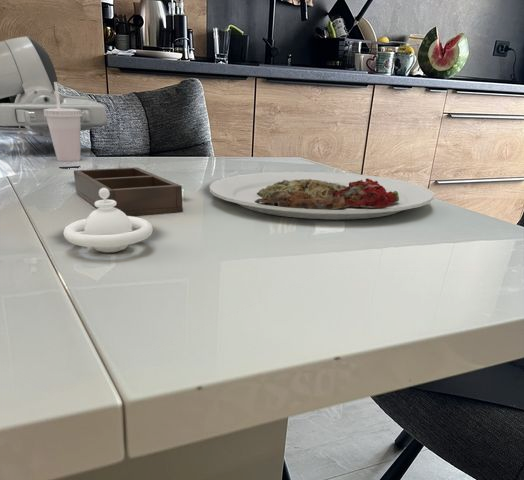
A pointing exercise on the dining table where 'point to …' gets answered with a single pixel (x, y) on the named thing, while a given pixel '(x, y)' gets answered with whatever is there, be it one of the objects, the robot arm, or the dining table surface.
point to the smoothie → (64, 131)
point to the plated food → (321, 194)
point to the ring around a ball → (107, 227)
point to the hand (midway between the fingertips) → (58, 116)
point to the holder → (130, 190)
